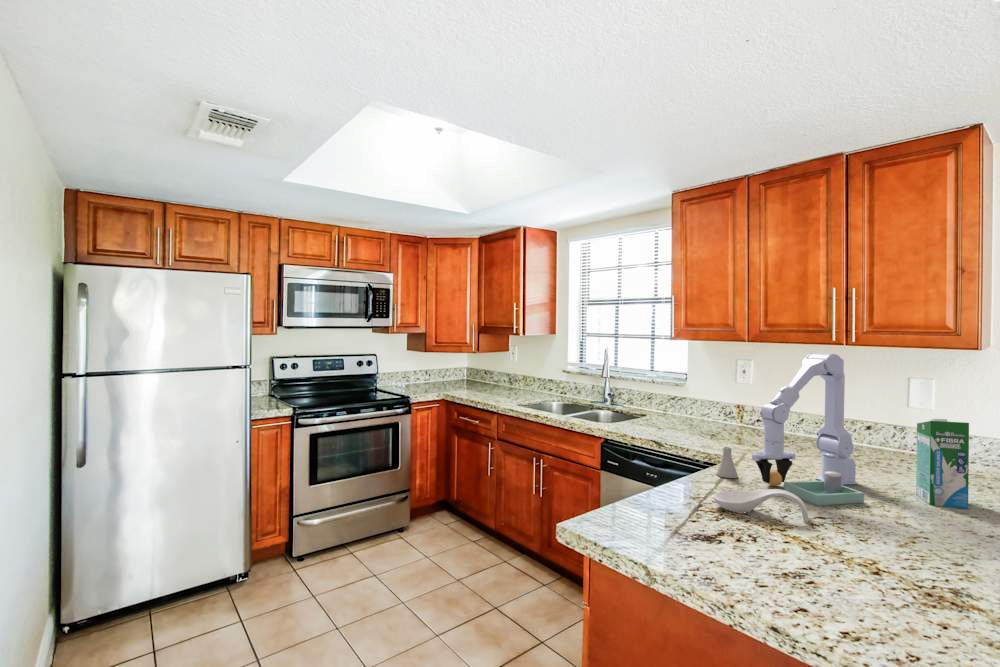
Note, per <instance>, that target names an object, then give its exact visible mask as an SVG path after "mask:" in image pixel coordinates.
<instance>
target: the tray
mask: <svg viewBox="0 0 1000 667" xmlns="http://www.w3.org/2000/svg"><path fill="white" fill-rule="evenodd" d="M783 486H784V487H783V490H785V491H788V492H790V493H793V494H794V495H796V496H798V497H799V498H800V499H801V500H802V501H803V502H806V503H809V504H811V505H814V506H816V507H822V506H836V505H854V504H864V503H865V492H862V491H859V490H857V489H854V488H851V487H848V486H846V485H841V491H842V493H833V494H824V480H822V481H821V480H809V481H808V480H807V481H805V480H804V481H787V482H785V481H784V482H783Z"/></svg>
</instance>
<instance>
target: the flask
mask: <svg viewBox="0 0 1000 667" xmlns="http://www.w3.org/2000/svg"><path fill="white" fill-rule="evenodd" d="M721 450H723V453H722V458H721V461H720V463H719V466H718V468H717V471H716V476H718V477H720V478H725V479H726V478H727V479H737V478H739V475H738V472H737V469H736V466H735V464H734V461H733V457H732V450H733V447H730V446H722V449H721Z"/></svg>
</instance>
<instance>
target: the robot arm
mask: <svg viewBox="0 0 1000 667" xmlns="http://www.w3.org/2000/svg"><path fill="white" fill-rule="evenodd" d="M844 361H845V360H844V359H843V358H841V356H840V355H838V354H836V353H817V352H810V353H808V354H807V355H806V356H805V358H804V359H803V360H802V365H801V367H800V369H799V370H798V372H797V374H796V375H795V377H793V379H792V381H791V382H790V383H789V385H787V386H786V385H785V386H782V387H780V388H779V389H778V392H777V393H776V395H775V396H774V397H773V398H772V399H771V400H770V402H769V403H766V404H764V405H763V406H762V407H761V410H759V414H760V417H761V419H762V423H763V451H762V452H758V453H752V454H751V455H752V456H751V460H752V461H755V463H756V466H758V469H759V472H760V474H761V478H762V482H764V483H766V484H768V483H769V481H770V471H772V466H773V464H772V462H770V461H775V464H776V471H777V472H778V473H780V475H781V476H782V483H784V482H785V481H786V477H787V475H788V471H789V470H790V468H791V467H792V465H793V460H796V453H793V452H791V451H790V452H788V451H787V452H785V451H784V450H785V437H784V436H785V435H784V434H785V422H786V421H787V420H788V419H789V416H790V411H791V409H792V408H793V406H794V405H795V404H796V402H797V401H798V400H799V398H800V391H801V390H803V388H804V387H805V386H807V384H808V383H809V382H810V381H811V380H812V379H813V378H814V377H816V376H820V377H821V378H822V379H823V380H824V382H825V386H824V388H825V389H824V425H823V427H821V428H820V429H819V430H818V434H817V435H818V436H817V438H816V439H815V444H816V448H817V449H818V450H819V453H820V454H821V476H815V477H814V478H815V479H816V480H817V481H822V480H824V475H825V471H833V472H838V473H840V474H841V485H843V486H846V485H858V482H857V481H856V471H857V470H856V466H857V465H856V462H855V459H854V458H853V457H852V456H851V455H852V454H853V452H854V444H853V440H852V434H851V433H850V432H849V431H848V430H847V429H846V428H844V427H845V388H846V387H845V386H846V385H845V384H846V383H845V381H846V377H845V372H844V371H845V370H844V369H845V366H844V365H845V364H844V363H845V362H844Z"/></svg>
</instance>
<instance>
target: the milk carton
mask: <svg viewBox="0 0 1000 667" xmlns="http://www.w3.org/2000/svg"><path fill="white" fill-rule="evenodd" d="M969 441H970V422H960V421H948V419H947V418H946V419H945V418H930V420H928V421H923V422H917V423H916V481H915V482H916V485H915V486H916V488H915V489H916V492H915V494H916V497H917V498H919V499H921V500H922V501H924V502H925V503H926V504H928V505H929V506H935V507H944V508H945V507H947V508H955V509H956V508H957V509H966V510H967V509H969V477H970V476H969V470H970V469H969V465H970V463H969V459H970V457H969V456H970V455H969V454H970V452H969V451H970V446H969V445H970V442H969Z"/></svg>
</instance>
